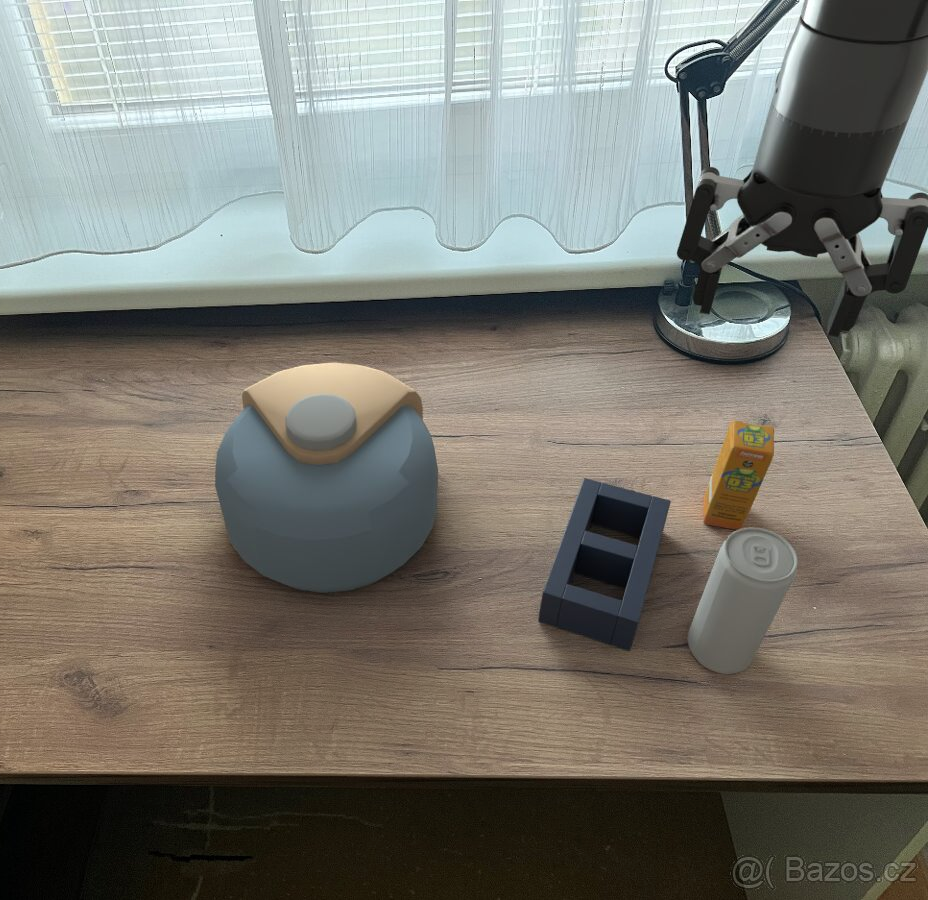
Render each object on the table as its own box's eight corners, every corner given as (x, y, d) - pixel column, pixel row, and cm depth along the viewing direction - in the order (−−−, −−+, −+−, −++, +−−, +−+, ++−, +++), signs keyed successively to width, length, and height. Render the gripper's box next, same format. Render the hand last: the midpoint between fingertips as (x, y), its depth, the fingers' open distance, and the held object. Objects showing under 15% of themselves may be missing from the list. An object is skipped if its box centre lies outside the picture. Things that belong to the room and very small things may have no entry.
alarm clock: (438, 435, 86) (439, 338, 77) (435, 606, 72) (436, 511, 63) (247, 433, 88) (227, 338, 80) (208, 598, 74) (180, 505, 66)
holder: (662, 530, 75) (671, 500, 73) (629, 651, 68) (638, 622, 65) (578, 507, 78) (584, 477, 75) (537, 621, 70) (542, 592, 67)
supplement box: (701, 526, 75) (729, 445, 68) (702, 497, 78) (730, 415, 70) (742, 534, 74) (775, 452, 67) (743, 504, 77) (775, 422, 70)
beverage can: (751, 629, 68) (797, 532, 59) (753, 684, 65) (803, 588, 56) (685, 617, 69) (721, 520, 61) (685, 670, 66) (722, 575, 57)
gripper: (706, 113, 52) (657, 330, 64) (984, 141, 47) (876, 371, 59) (723, 64, 57) (674, 274, 68) (977, 84, 52) (879, 307, 63)
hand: (768, 318), depth 64 cm, fingers open, 8 cm apart
